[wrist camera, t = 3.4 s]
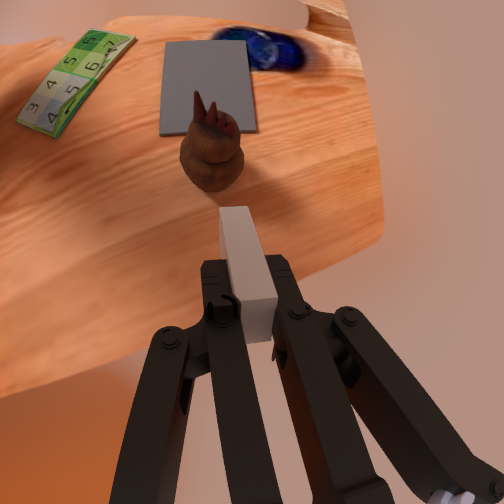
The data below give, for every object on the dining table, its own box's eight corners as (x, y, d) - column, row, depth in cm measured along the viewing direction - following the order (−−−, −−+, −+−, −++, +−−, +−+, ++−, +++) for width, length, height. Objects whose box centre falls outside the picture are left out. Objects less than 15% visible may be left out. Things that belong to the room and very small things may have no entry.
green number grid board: (136, 41, 36) (92, 32, 35) (135, 35, 34) (90, 27, 33) (58, 141, 32) (17, 123, 31) (54, 136, 31) (13, 119, 30)
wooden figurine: (173, 168, 34) (159, 94, 19) (210, 140, 35) (218, 59, 20) (210, 209, 34) (217, 153, 19) (247, 178, 35) (277, 111, 21)
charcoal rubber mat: (255, 132, 36) (256, 129, 36) (159, 136, 34) (159, 133, 33) (244, 43, 38) (245, 40, 37) (166, 44, 36) (166, 42, 35)
